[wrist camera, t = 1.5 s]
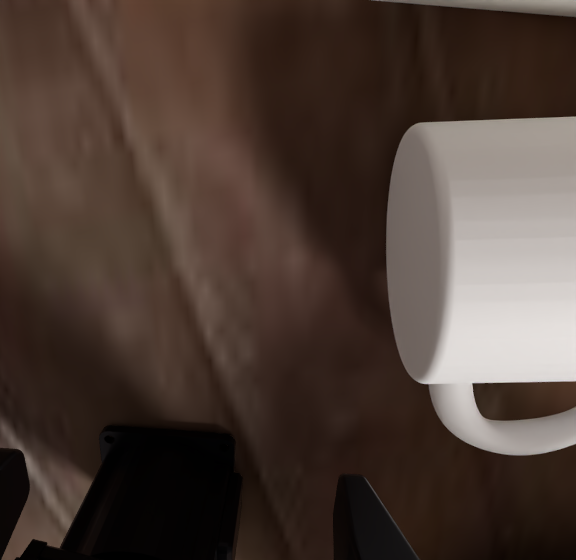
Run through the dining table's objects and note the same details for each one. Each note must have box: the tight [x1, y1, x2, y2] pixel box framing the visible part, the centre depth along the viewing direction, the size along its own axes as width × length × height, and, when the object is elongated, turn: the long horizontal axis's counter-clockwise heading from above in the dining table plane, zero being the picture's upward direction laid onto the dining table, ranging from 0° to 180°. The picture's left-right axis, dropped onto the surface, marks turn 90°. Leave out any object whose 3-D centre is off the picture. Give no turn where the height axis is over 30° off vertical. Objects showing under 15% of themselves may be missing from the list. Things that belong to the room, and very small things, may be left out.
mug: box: [386, 117, 576, 455], centre depth 16 cm, size 12×10×8 cm
